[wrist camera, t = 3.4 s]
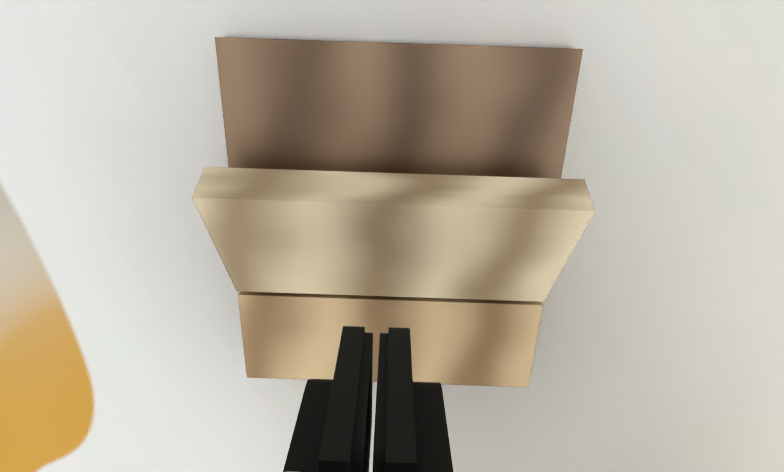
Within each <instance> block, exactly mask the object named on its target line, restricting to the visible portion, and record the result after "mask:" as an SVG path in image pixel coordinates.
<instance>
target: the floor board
mask: <svg viewBox="0 0 784 472" xmlns="http://www.w3.org/2000/svg"><path fill="white" fill-rule="evenodd" d="M215 43H216V52H217V62H218V71H219V80H220V90H221V99H222V109H223V118H224V128H225V137H226V147H227V156H228V165H229V168H253V169H283V170H313V171H343V172H373V173H404V174H434V175H464V176H494V177H524V178H555V179H561V173H562V167H563V162H564V156H565V150H566V144H567V138H568V133H569V127H570V121H571V115H572V109H573V104H574V98H575V92H576V86H577V80H578V75H579V69H580V63H581V57H582V51H583V49H566V48H535V47H503V46H472V45H441V44H410V43H378V42H347V41H316V40H285V39H253V38H222V37H215ZM238 300H239V309H240V319H241V328H242V337H243V346H244V355H245V364H246V373H247V377H250V378H278V379H307V380H308V379H333V377H334V372H335V367H336V361H337V356H338V350H339V345H340V340H341V334H342V329H343V326H359V327H365V333H373V372H372V382H377V377H378V358H379V339H380V333H388V328H389V327H394V328H410V339H411V358H412V377H413V382H440V383H441V384H450V385H479V386H508V387H529V381H530V376H531V370H532V364H533V358H534V353H535V347H536V341H537V336H538V330H539V324H540V319H541V313H542V307H543V305H542V303H541V302H537V301H508V300H478V299H449V298H420V297H391V296H361V295H332V294H303V293H273V292H244V291H240V293H239V294H238Z"/></svg>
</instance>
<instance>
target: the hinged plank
mask: <svg viewBox="0 0 784 472" xmlns="http://www.w3.org/2000/svg"><path fill="white" fill-rule="evenodd" d="M192 199H193V201H194V203H195V205H196V208H197V210H198V212H199V214H200V216H201V218H202V220H203V222H204V224H205V226H206V228H207V230H208V232H209V234H210V237H211V239H212V241H213V243H214V245H215V247H216V249H217V251H218V253H219V255H220V257H221V259H222V261H223V264H224V266H225V268H226V270H227V272H228V274H229V276H230V278H231V280H232V282H233V284H234V286H235V288H236V291H244V292H273V293H303V294H332V295H361V296H391V297H420V298H449V299H478V300H508V301H537V302H544V301H545V299H546V298H547V296H548V294H549V292H550V290H551V289H552V287H553V285H554V283H555V281H556V280H557V278H558V276H559V274H560V273H561V271H562V269H563V267H564V265H565V264H566V262H567V260H568V258H569V256H570V255H571V253H572V251H573V249H574V248H575V246H576V244H577V242H578V240H579V239H580V237H581V235H582V233H583V231H584V230H585V228H586V226H587V224H588V222H589V221H590V219H591V217H592V215H593V214H594V212H595V210H594V207H593V204H592V201H591V198H590V195H589V192H588V189H587V186H586V183H585V180H584V179H555V178H524V177H494V176H464V175H434V174H404V173H373V172H343V171H313V170H283V169H253V168H222V167H204V170H203V172H202V174H201V177H200V179H199V182H198V184H197V186H196V189H195V191H194V194H193V196H192Z"/></svg>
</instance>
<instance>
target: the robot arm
mask: <svg viewBox="0 0 784 472" xmlns="http://www.w3.org/2000/svg"><path fill="white" fill-rule="evenodd" d="M372 372H373V333H365V327H359V326H343V329H342V334H341V340H340V345H339V350H338V356H337V361H336V367H335V372H334V377H333V379H308V381H307V384H306V387H305V391H304V394H303V398H302V402H301V406H300V410H299V413H298V417H297V421H296V425H295V429H294V432H293V436H292V440H291V444H290V448H289V451H288V455H287V459H286V463H285V467H284V470H283V472H369V457H370V441H371V424H372ZM373 472H453V467H452V460H451V452H450V445H449V438H448V430H447V423H446V416H445V408H444V401H443V394H442V387H441V383H440V382H413V377H412V358H411V339H410V328H394V327H389V328H388V333H380V339H379V358H378V377H377V395H376V414H375V433H374V452H373Z"/></svg>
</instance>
